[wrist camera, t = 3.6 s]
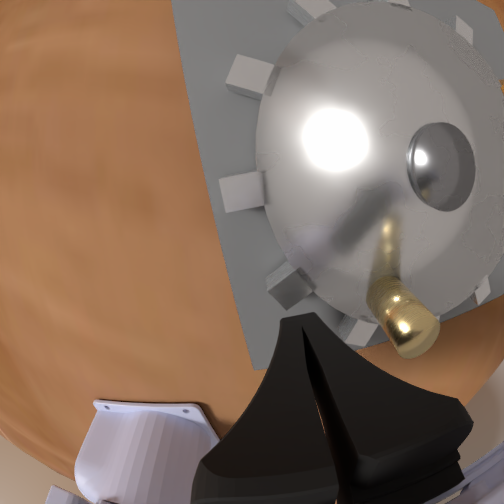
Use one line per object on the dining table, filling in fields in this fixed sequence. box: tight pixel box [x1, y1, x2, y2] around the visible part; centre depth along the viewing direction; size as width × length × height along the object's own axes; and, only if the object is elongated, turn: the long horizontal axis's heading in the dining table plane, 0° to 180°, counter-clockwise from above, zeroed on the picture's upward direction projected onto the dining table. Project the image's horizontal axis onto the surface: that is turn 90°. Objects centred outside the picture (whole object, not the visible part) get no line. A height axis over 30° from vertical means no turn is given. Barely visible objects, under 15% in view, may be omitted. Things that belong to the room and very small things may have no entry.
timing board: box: [171, 0, 504, 370], centre depth 10 cm, size 21×21×1 cm
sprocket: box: [219, 0, 504, 359], centre depth 8 cm, size 18×18×4 cm
